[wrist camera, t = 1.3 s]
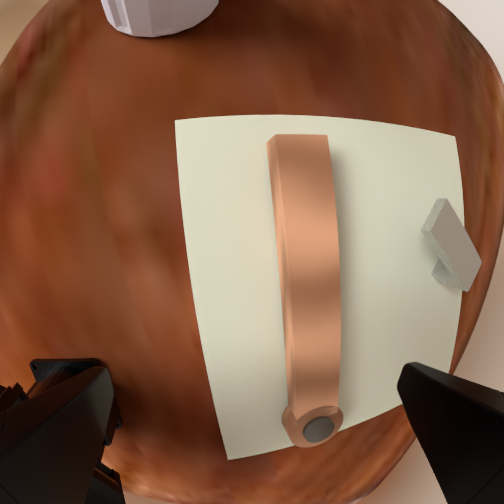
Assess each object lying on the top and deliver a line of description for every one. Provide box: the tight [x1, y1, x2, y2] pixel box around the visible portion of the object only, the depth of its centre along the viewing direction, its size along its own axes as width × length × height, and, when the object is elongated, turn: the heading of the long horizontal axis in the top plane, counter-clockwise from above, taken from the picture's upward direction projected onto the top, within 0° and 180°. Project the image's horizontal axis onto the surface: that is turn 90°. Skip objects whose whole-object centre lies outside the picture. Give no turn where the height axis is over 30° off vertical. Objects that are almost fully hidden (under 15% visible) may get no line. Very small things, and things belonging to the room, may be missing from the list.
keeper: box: [421, 198, 482, 292], centre depth 19 cm, size 3×8×5 cm, turn 52°
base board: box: [175, 115, 464, 460], centre depth 20 cm, size 25×26×1 cm
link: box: [266, 134, 343, 447], centre depth 17 cm, size 22×4×2 cm, turn 7°
